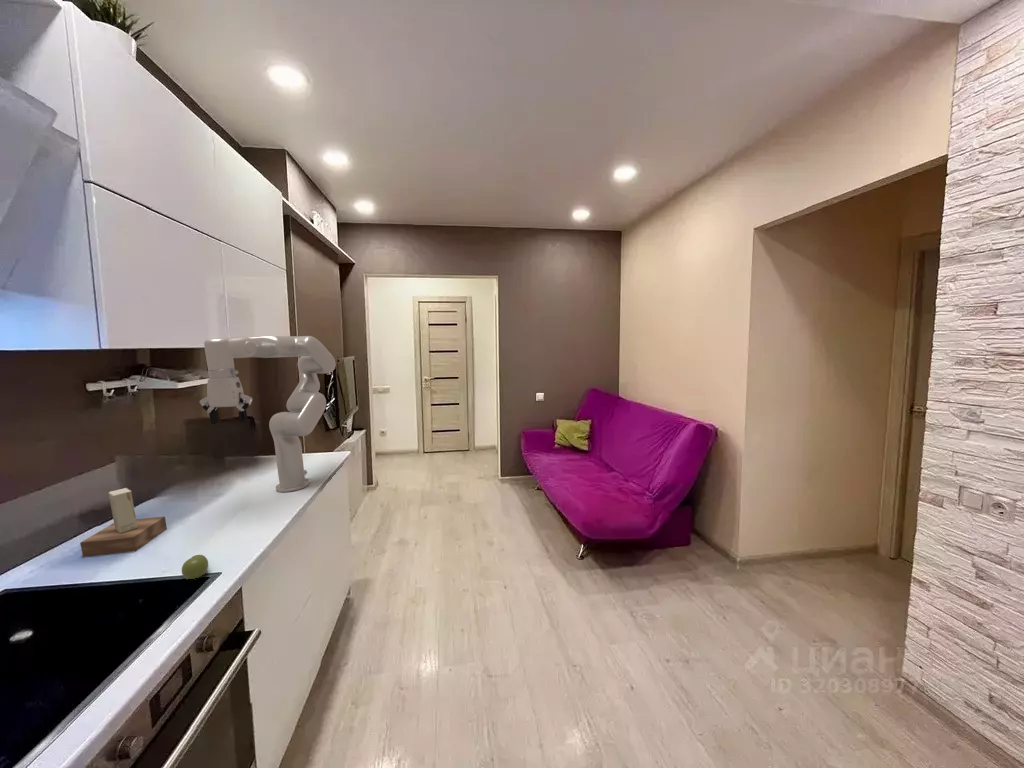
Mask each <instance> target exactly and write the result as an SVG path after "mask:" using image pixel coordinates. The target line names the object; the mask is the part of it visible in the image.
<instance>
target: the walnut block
mask: <svg viewBox="0 0 1024 768" xmlns="http://www.w3.org/2000/svg"><path fill="white" fill-rule="evenodd" d="M136 521H137V527H138V528H135V529H132V530H129V531H125V532H122V533H119V532H118V531H117V530H116V529H115V525H114V522H113V523H112V524H109V525H108V526H106V527H105V528H103V529H101V530H99V531H98V532H96V533H94V534H92V535H91V536H89V537H88V538H86V539H84V540H82V541H80V542H79V544H80V549H81V555H82V557H83V558H86V557H93V556H94V557H95V556H105V555H111V554H121V553H122V554H123V553H130V552H137V551H138V550H140V549H141V548H143V547H144V546H145V545H146V544H148V543H149V542H151V541H152V540H153V539H155V538H157V537H158V536H159V535H161V534H162V533H163V532H165V531H166V530H168V527H167V522H166V521H167V520H166V517H165V516H157V517H145V518H136Z"/></svg>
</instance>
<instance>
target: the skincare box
mask: <svg viewBox="0 0 1024 768" xmlns="http://www.w3.org/2000/svg"><path fill="white" fill-rule="evenodd" d="M108 496H109V497H108V498H109V502H110V503H109V504H110V508H111V514H112V519H113V523H114V525H115V529H116V530H117V531H118V532H119V533H122V532H125V531H129V530H132V529H135V528H138V527H137V521H136V519H137V516H136V511H135V510H136V509H135V505H134V500H133V494H132V490H131V489H129V488H128V487H124V488H121V489H116V490H111V491H109V492H108Z"/></svg>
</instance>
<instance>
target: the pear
mask: <svg viewBox="0 0 1024 768" xmlns="http://www.w3.org/2000/svg"><path fill="white" fill-rule="evenodd" d="M182 564H183V565H182V566H181V575H182V577H183V578H184V579H186V580H188V579H194V580H196V579H195V578H198V577H200V576H201V577H203V576H204V575H205V574H206V573H207V570H208V568H209V559H208V558H207V557H206V556H205V555H203V554H196V555H193V556H191V557H190V558H188V559H187V560H186V561H185V562H184V563H182ZM202 575H203V576H202ZM201 577H200V578H201ZM198 579H199V578H198Z"/></svg>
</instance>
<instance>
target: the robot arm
mask: <svg viewBox="0 0 1024 768" xmlns="http://www.w3.org/2000/svg"><path fill="white" fill-rule="evenodd" d="M203 347H204V352H205V357H206V358H205V359H206V366H207V372H208V378H209V379H207V384H206V388H207V389H206V391H207V392H206V393H207V396H205V397H204V398H202V399H200V400H199V404H200V405H201V407H202V409H203V410H205V411H206V413H207V414H208V415H209V420H210V423H211V425H215V424H218V423H219V422H220V420H219V413H218V411H216V410H218V408H228V407H229V408H230V407H231V408H233V407H236V408H237V410H239V411H238V419H239V422H240V423H241V424H242V423H245V422H247V421H248V413H247V410H248V409H249V407H251V404H252V402H253V399H254V398H253V397H252V396H249V395H247V394H244V389H243V385H242V383H241V381H240V377H239V376H237V375H238V374H240V373H239V370H237V369H236V368H235V361H234V359H243V358H244V359H246V358H261V359H262V358H263V359H268V358H269V359H270V358H272V359H273V358H274V359H275V358H294V357H299V358H298V360H297V368H298V373H299V382H298V383H297V386H296V387H295V388H294V390H293V391H292V393H291V394H290V396H289V398H288V399H287V401H286V404H285V405H286V406H285V407H286V408H287V411H280V412H277V413H275V414H273V415H272V416H271V418H270V420H269V424H268V426H269V431H270V434H271V436H272V439H273V442H274V443H273V444H274V450H275V451H274V452H275V460H276V467H277V475H278V476H277V477H278V484H277V485H275V491H277V492H278V493H289V492H296V491H300V490H301V489H304V488H306V487H308V486H309V485H310V479H308V478H306V475H307V474H308V471H307V469H305V468H304V457H303V450H302V448H303V447H302V442H301V440H300V439H301V438H300V437H306V436H308V435H310V434H311V433H312V432H313V431H314V429H315V427H316V426H317V424H318V422H319V421H320V419H321V417H322V416H323V414H324V412H325V410H326V407H327V399H326V397H325V395H324V394H323V393H321V392H319V391H320V387H321V384H320V381H319V380H320V379H319V376H318V375H317V374H329V373H330V374H331V373H332V372H333V371H334V370H335V369H336V367H337V366H336V364H337V363H336V359H335V357H334V356H333V354H332V353H331V352H330V351H329V350H328V349H327V348H326V347H325V345H324V344H323V343H322V342H320V340H319V339H317V338H316V337H314V336H312V335H302V336H301V335H300V336H299V335H297V336H295V335H294V336H293V335H289V336H287V335H281V336H280V335H264V336H256V337H248V336H247V337H246V336H231V337H222V338H208V339H206V340H204V342H203Z"/></svg>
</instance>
